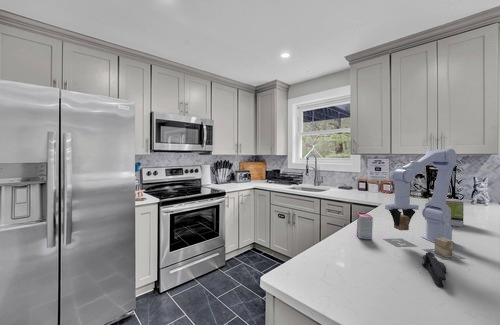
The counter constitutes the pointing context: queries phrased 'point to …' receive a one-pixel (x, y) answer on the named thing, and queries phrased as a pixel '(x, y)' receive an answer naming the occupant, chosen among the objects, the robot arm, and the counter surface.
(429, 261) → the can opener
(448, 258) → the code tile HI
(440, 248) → the oak block
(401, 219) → the walnut block
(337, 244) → the counter surface
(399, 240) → the tile
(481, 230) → the counter surface
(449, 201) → the tea box
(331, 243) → the counter surface
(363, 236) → the supplement box
